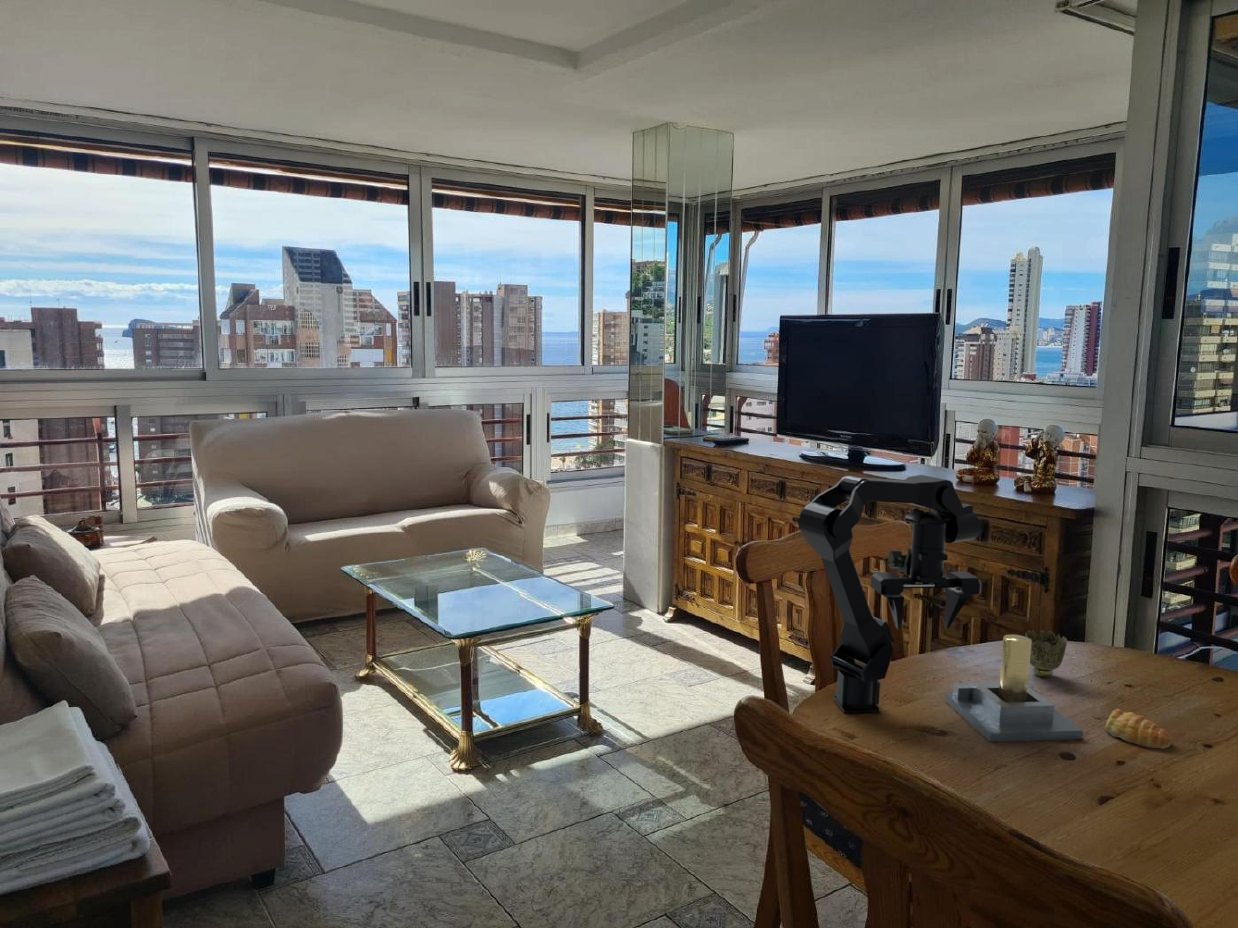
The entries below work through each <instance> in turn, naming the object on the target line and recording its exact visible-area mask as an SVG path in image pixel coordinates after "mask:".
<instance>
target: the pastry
mask: <svg viewBox="0 0 1238 928" xmlns="http://www.w3.org/2000/svg"><path fill="white" fill-rule="evenodd" d="M1104 729H1105V730H1106V731H1107V732H1108V733H1109V734H1110V735H1111V736H1112V737H1114V738H1120V739H1121V740H1123V741H1125V742H1127V743H1133V744H1136V745H1139V746H1143V747H1146V748H1151V749H1157V748H1158V749H1162V750H1164V749H1167V748H1169V747H1170V746H1171V745H1172V742H1173V740H1174V737H1173V736H1172V735H1171V734H1170V733H1169V732H1168V731H1167V730H1166V729H1164V728H1163V727H1162V726H1161V725H1158V724H1156V723H1155V722H1154V721H1152V720H1149V719H1147V718H1145V716H1144V715H1139V714H1138V715H1137V714H1135V713H1134V712H1132V711H1128V712H1125V711H1123V710H1122V709H1119V708H1116V709H1113V710H1112V712H1111V714H1110V715H1109V717H1108V719H1107V720H1106V723H1105V727H1104Z"/></svg>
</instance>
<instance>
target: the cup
mask: <svg viewBox="0 0 1238 928" xmlns="http://www.w3.org/2000/svg"><path fill="white" fill-rule="evenodd" d="M1024 636H1025V637H1027V638H1029V639H1031V640H1032V643H1031V654H1030V665H1031V666H1032V672H1033V674H1034V675H1035V676H1037V677H1040V678H1045V679H1046V678H1051V677H1052V676H1053V675H1054V670H1057V669H1059V668H1060V666H1061V664H1062V663H1063V660H1064V656H1065V653H1066V649H1067V644H1068V638H1067V637H1065V635H1064V636H1062V637H1061V635H1060V633H1058V634H1057V635H1056V634H1055V633H1054V632H1053V631H1051V630H1049V631H1047V632H1046V631H1045V630H1041V631H1040V633H1035V630H1034V629H1033V630H1030V629H1029V630H1028V631H1026V632H1025V634H1024Z"/></svg>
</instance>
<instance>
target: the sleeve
mask: <svg viewBox="0 0 1238 928" xmlns="http://www.w3.org/2000/svg"><path fill="white" fill-rule="evenodd" d="M1031 643H1032V640H1031V639H1029V638H1027V637H1025V635H1022V634H1021V635H1019V634H1005V635H1004V636H1003V639H1002V649H1001V650H1002V652H1001V663H1000V672H999V673H1000V674H999V682H998V683H999V695H998V697H999V698H1000V699H1001V700H1002V701H1004V702H1005V703H1010V702H1026V698H1027V687H1028V683H1029V673H1030V665H1031V664H1030V654H1031Z"/></svg>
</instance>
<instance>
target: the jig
mask: <svg viewBox="0 0 1238 928" xmlns="http://www.w3.org/2000/svg"><path fill="white" fill-rule="evenodd" d="M999 683H1000V682H983V683H982V682H979V683H978V682H975V683H971V682H970V683H952V693H951V692H950V693H949V692H947V693H945V698H944V699H945V700H944V701H946V704H947V705H948V706H950V707H951V708H952V709H953V710H954V711H955V712H956V711H957V712H958V714H959V716H960V717H962V718H963V719H964V720H965V722H967V723H969V724H970V726H972V728H974V730H976V731H977V732H978V733H979V734H980V735H982V737H984V739H986V740H987V741H988V742H989V743H994V742H995V743H997V742H999V743H1000V742H1001V743H1003V742H1027V741H1028V742H1029V741H1030V742H1031V741H1032V742H1033V741H1034V742H1035V741H1070V740H1083V735H1084V730H1083V729H1081V728H1080V727H1079V726H1078V725H1076V724H1075V723H1074V722H1073V721H1071V720H1070V719H1068V718H1067V717H1065V716H1064V715H1063V714H1061V713H1060V712H1059V711H1057V710H1056V709H1055V705H1054V704H1053V703H1051V702H1050V701H1049V700H1048V699H1046V698H1045V697H1043V696H1042V695H1041V694H1039V693H1038V692H1037V691H1035V690H1034V686H1033V685H1032V684H1030V683H1029V682H1028V687H1027V698H1026V702H1010V703H1005V702H1004V701H1002V700H1001V699H1000V698H999V697H998V695H999ZM957 712H956V713H957Z"/></svg>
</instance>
